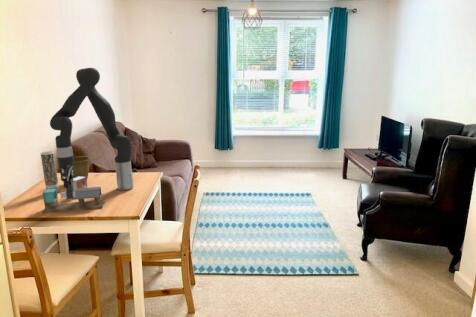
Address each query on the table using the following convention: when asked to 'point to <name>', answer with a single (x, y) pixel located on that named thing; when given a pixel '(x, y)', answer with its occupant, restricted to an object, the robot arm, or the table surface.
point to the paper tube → (49, 170)
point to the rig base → (73, 205)
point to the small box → (79, 182)
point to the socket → (50, 195)
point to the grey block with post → (69, 191)
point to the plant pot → (81, 166)
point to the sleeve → (88, 193)
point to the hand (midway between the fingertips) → (68, 185)
